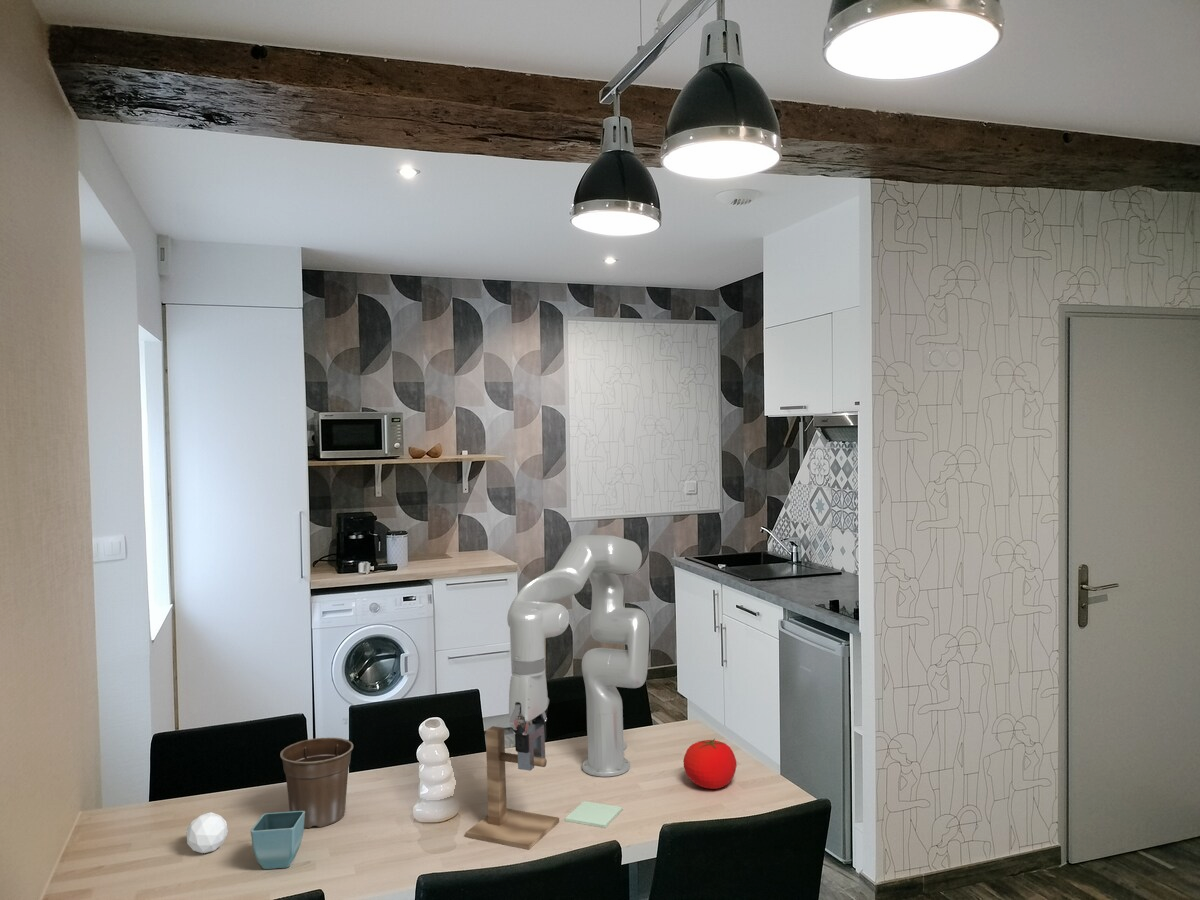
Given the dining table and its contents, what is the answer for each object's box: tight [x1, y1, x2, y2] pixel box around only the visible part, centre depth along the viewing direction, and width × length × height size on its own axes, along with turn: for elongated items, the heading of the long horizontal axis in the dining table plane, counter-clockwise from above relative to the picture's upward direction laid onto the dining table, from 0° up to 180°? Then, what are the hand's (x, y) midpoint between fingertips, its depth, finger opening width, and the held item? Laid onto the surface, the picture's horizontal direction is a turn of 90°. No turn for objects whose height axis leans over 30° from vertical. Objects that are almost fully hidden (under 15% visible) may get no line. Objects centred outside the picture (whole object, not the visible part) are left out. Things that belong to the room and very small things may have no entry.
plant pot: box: [279, 737, 354, 829], centre depth 195 cm, size 16×16×16 cm
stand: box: [464, 725, 560, 850], centre depth 186 cm, size 14×16×22 cm
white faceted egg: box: [186, 811, 229, 854], centre depth 181 cm, size 8×8×12 cm
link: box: [517, 722, 546, 772], centre depth 185 cm, size 7×3×8 cm, turn 156°
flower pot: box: [250, 811, 305, 870], centre depth 174 cm, size 9×9×9 cm
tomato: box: [683, 738, 738, 790], centre depth 208 cm, size 12×13×11 cm
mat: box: [564, 800, 624, 829], centre depth 192 cm, size 10×10×1 cm
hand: (531, 745), depth 185 cm, fingers closed on link, 7 cm apart
